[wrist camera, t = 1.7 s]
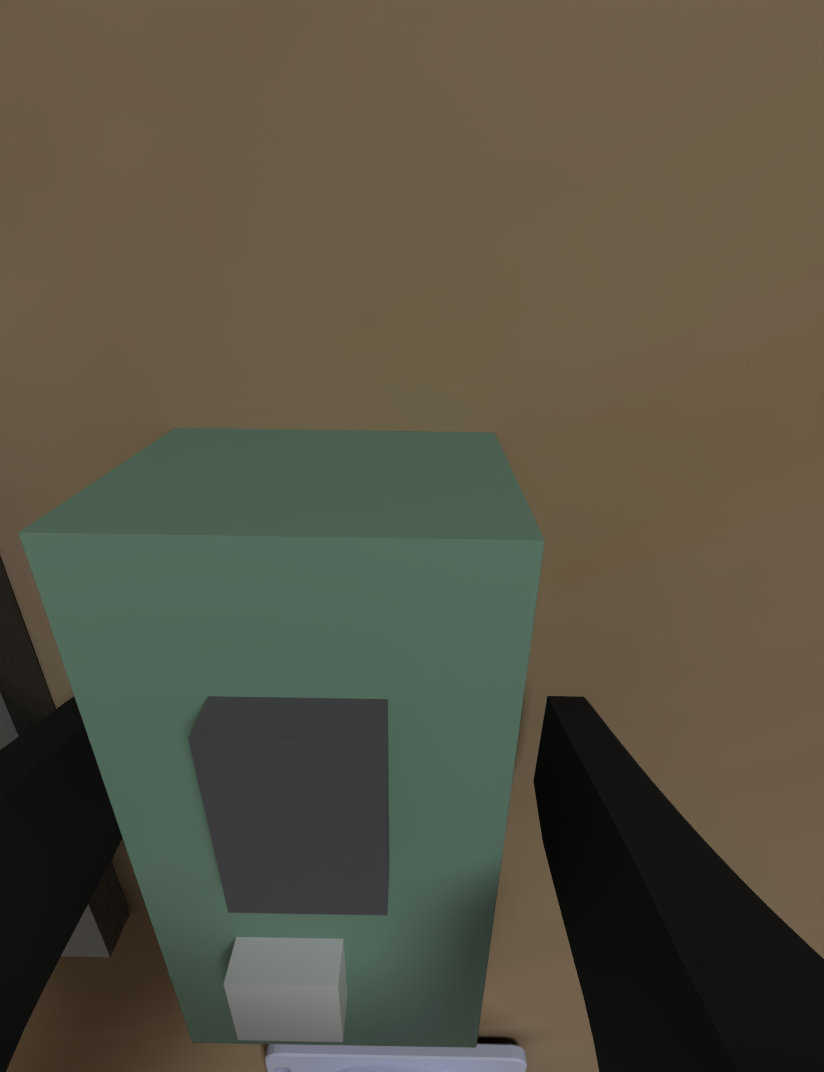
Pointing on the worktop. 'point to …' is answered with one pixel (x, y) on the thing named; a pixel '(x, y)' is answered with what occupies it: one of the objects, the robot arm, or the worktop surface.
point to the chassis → (7, 712)
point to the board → (305, 715)
